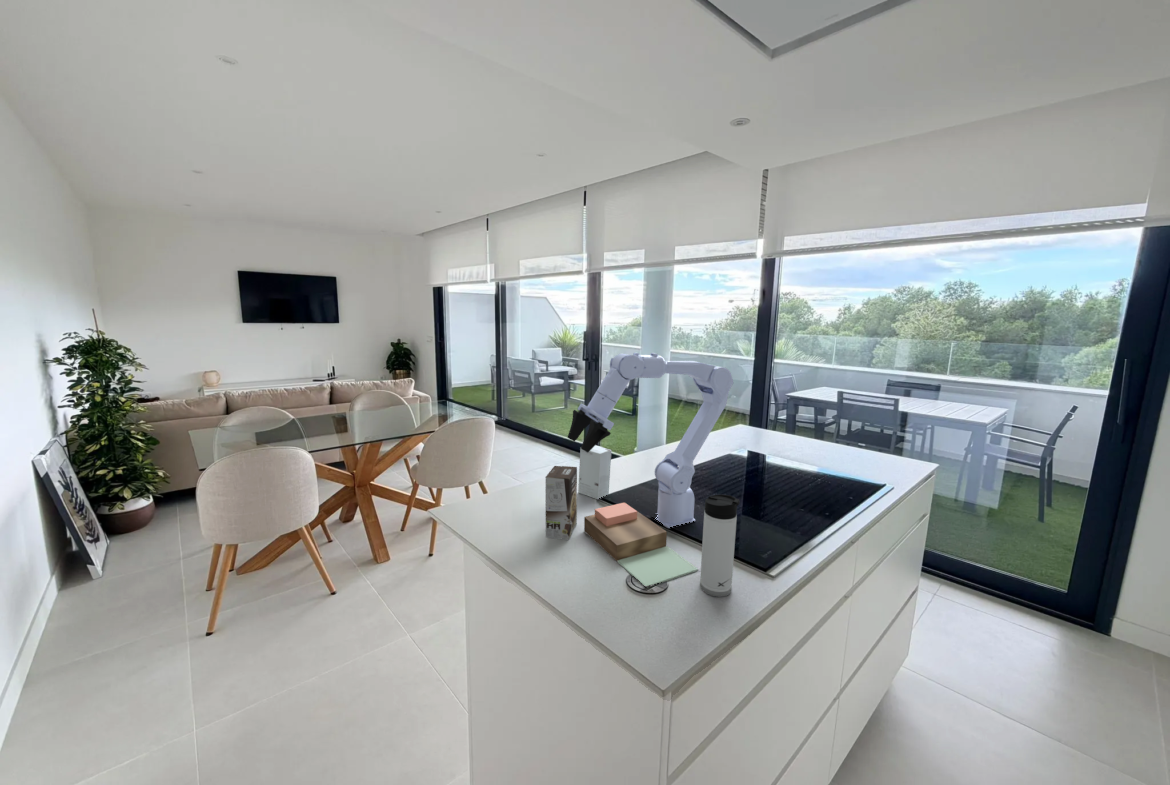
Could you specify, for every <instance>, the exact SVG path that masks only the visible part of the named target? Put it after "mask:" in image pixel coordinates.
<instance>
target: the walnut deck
mask: <svg viewBox="0 0 1170 785" xmlns="http://www.w3.org/2000/svg"><path fill="white" fill-rule="evenodd" d="M636 511H637V519H634V520H630V521H626V522H622V523H618V524H614V525H609V526H606V525H605V524H603V523H602V522H601V521H600V520H599V519H597V518H596V517H595V514H591V515H587V516H584V518H583V519H584V520H583V521H584V522H583V524H584V525H583V526H584V529H583V531H584V533H585V534H587V535H588V536H589V537H590V538H591V539H592V540H593V541H594V542H595V543H596V544H598V545H599V547H600V548H602V549H603V551H605V552H606V553H607V554H608V555H609V556H610V557H611V558H612V559H613V560H615V561H616V562H618V560H621V559H624V558H628V557H631V556H635V555H638V554H642V553H645V552H648V551H652V550H655V549H659V548H662V547H666V546H667V538H668V536H667V534H668V533H667V532H668V531H666V530H665V529H663V528H662V527H661V526H659V525H658V524H657V523H655V522H653V521H652V520H651V519H650V518H648V517H647V516H645V515H644V514H642V513H640V512H639V511H638V510H636Z"/></svg>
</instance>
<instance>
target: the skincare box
mask: <svg viewBox="0 0 1170 785" xmlns="http://www.w3.org/2000/svg"><path fill="white" fill-rule="evenodd" d="M579 448H580V449H579V450H580V452H579V466H578V467H579V470H578V483H577V494H580V495H584V496H587V497H590V498H593V499H595V500H600V499H602V498H604V497H606V495H607V496H609V495H608V494H610V478H611V462H612V449H609V448H605V447H603V446H599V445H597V444H596V445H595V446H594V447H593V448H592V449H591V450H590V451H589V452H586V451H584V450H582V449H581V447H579ZM603 496H604V497H603ZM601 497H602V498H601ZM599 498H600V499H599Z"/></svg>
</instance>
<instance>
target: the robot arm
mask: <svg viewBox="0 0 1170 785" xmlns="http://www.w3.org/2000/svg"><path fill="white" fill-rule="evenodd" d="M665 374H671V375H687V376H688V377H689V378H692V382H693V383H694V384H695V386H696V387H697V389H698V391H699V392H700V393H701V396H702V401H703V402H702V404H701V405H700V407H699V409H698V410H697V413H696V414H695V416H694V417H693V419H692V421H691V423H690V424H689V426H688V427H687V429H686V431H685V432H684V434H683V436H682V437H681V439H680V441H679V443H678V445H677V447H676V448H675V450H674V451H672V452H669V453H668V454H666V455H665V457H664V458H663V459H662V460H661V461H660V462H658V463H657V465H656V466H655V469H654V476H655V479H656V480H657V481H658V492H657V513H656V514H658V515H657V517H658V518H657V517H656V518H657V519H656V518H655V519H656V520H658V521H659V522H661V523H662V524H663V527H665V528H667V529H671V528H670V527H672V528H674V527H673V526H676V525H679V526H682V525H681V524H683V525H686V524H685V523H687V524H690V523H693V521H694V522H696V518H694V514H695V495H694V491H693V490H692V488H691V484H692V478H693V476H694V474H695V472H696V469H695V466H694V460H695V459H696V457H697V455H698V453H700V450H701V449H702V447H703V445H704V443H705V441H706V440H707V439H708V437H709V434H710V433H711V432H712V430H713V428H714V427H715V425H716V423H717V421H718V420H719V418H720V416H721V414H722V413H723V411H724V410H725V408H726V406H727V402H728V397H729V392H730V390H731V389H732V386H733V385H734V380H733V375H732V372H731V371H730V370H729V369H728V368H727V367H724V366H717V365H715V364H708V363H707V362H699V361H696V360H665V358H664V357H663V356H662V355H659V354H658V353H656V352H650V354H640V353H639V352H633V354H628V353H622V352H621V353H617V354H616V355H614V357H611V359H610V361H609V370H608V371H607V373H606V375H605V377H604V378H603V380H602V381H601V383H600V384H599V387H598V388H597V390H596V391H595V393H594V395H593V396H592V397H591V400H590V401H589V402H588V403H587V405H586V404H583V403H581V402H580V404H579V406H578V407H577V410H578V411H577V410H576V409H573V411H572V421H571V424H570V428H569V432H568V435H567V439H569V440H571V441H572V442H576V441H577V439H578V438H579V437H580V435H581V434H582V433H583V431H584V430H585V429H586V428H587V427H588V430H587V433H586V435H585V438H584V440H583V442H582V444H581V447H580V448H581V449H582V450H584V451H586V452H589V451H590V450H591V449H592V448H593V447H594V446H595V445H596V446H597V444H598V443H599V442H601V441H602V440H604V439H605V438H607V437H609V436H610V435H611V434H612V432H610V431H611V429H612V428H613V427H614V425H615V423H614V422H613V421H611V420H609V419H608V418H609V416H610V414H611V413H612V411H613V410H614V409H615V408H614V407H615V406H616V405H617V403H618V401H619V400H620V399H621V396H622V394H623V393H624V391H625V389H626V388H627V386H628V384H629V383H630V381H631V380H634V379H637V378H639V379H660V378H662V377H663V376H664V375H665ZM594 416H595V417H594ZM655 519H654V520H655ZM656 520H655V521H656ZM658 521H657V522H658ZM659 522H658V523H659ZM689 522H690V523H689ZM661 523H660V524H661ZM662 524H661V525H662ZM676 527H677V526H676Z"/></svg>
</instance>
